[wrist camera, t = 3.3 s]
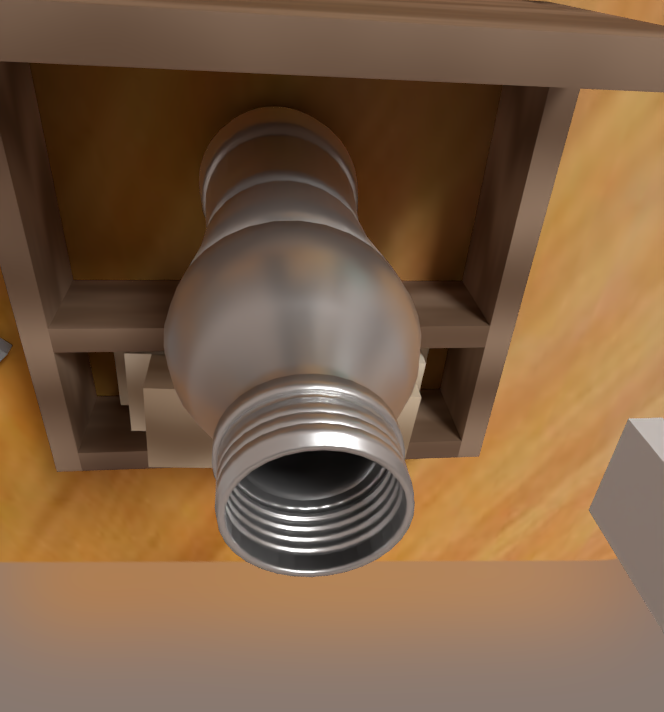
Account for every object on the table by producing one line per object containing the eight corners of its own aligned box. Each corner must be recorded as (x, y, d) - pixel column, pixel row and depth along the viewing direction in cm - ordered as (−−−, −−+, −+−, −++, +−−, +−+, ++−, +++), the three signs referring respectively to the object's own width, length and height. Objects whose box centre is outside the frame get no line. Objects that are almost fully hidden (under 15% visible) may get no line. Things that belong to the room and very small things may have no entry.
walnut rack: (-26, -37, 22) (-252, -17, 12) (548, 1, 25) (747, 43, 15) (78, 413, 34) (7, 608, 24) (455, 404, 36) (531, 574, 27)
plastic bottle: (293, 263, 30) (346, 651, 14) (173, 181, 27) (57, 552, 11) (378, 159, 27) (568, 482, 11) (257, 57, 24) (274, 294, 8)
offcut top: (151, 353, 27) (143, 388, 25) (409, 364, 29) (421, 397, 27) (155, 430, 30) (148, 467, 27) (392, 435, 31) (401, 470, 29)
